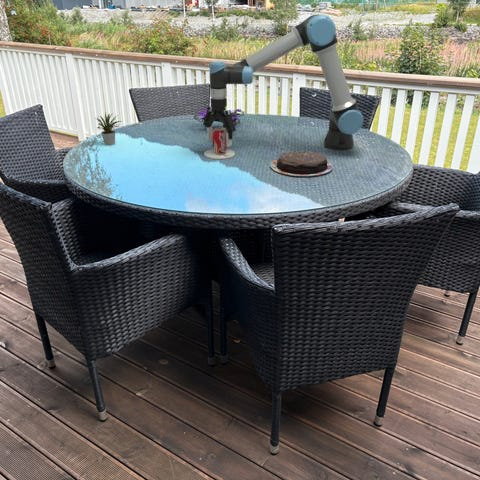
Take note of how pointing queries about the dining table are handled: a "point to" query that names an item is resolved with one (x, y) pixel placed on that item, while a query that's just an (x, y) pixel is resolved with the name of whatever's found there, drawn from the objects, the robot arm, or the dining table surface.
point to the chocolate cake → (301, 164)
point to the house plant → (108, 129)
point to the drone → (233, 114)
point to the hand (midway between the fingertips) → (219, 143)
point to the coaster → (212, 155)
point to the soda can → (219, 140)
